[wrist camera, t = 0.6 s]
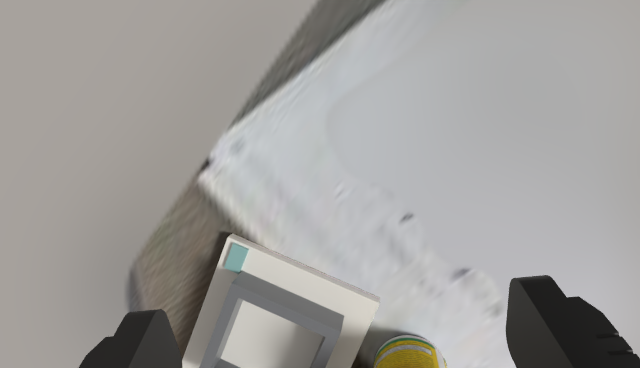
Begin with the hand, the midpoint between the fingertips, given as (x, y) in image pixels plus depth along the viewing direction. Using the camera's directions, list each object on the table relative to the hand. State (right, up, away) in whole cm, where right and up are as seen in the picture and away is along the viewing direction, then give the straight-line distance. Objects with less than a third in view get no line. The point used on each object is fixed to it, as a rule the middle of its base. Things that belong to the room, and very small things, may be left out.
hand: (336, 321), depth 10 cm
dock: (-4, -8, +23) cm, 25 cm away
